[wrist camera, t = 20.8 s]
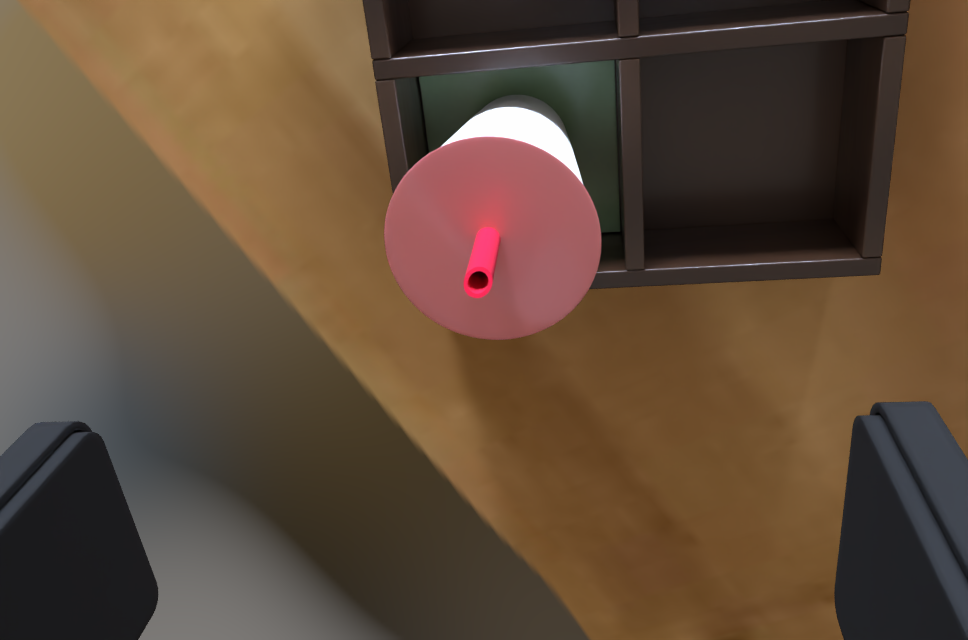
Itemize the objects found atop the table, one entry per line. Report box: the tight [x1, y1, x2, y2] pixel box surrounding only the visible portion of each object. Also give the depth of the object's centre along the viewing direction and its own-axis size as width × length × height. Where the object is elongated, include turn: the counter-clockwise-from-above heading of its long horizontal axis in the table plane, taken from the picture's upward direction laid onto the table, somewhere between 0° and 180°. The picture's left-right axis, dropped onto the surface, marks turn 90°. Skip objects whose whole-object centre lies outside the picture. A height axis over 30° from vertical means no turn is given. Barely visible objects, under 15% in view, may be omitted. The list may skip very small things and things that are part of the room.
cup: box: [384, 95, 601, 340], centre depth 24 cm, size 5×5×12 cm
